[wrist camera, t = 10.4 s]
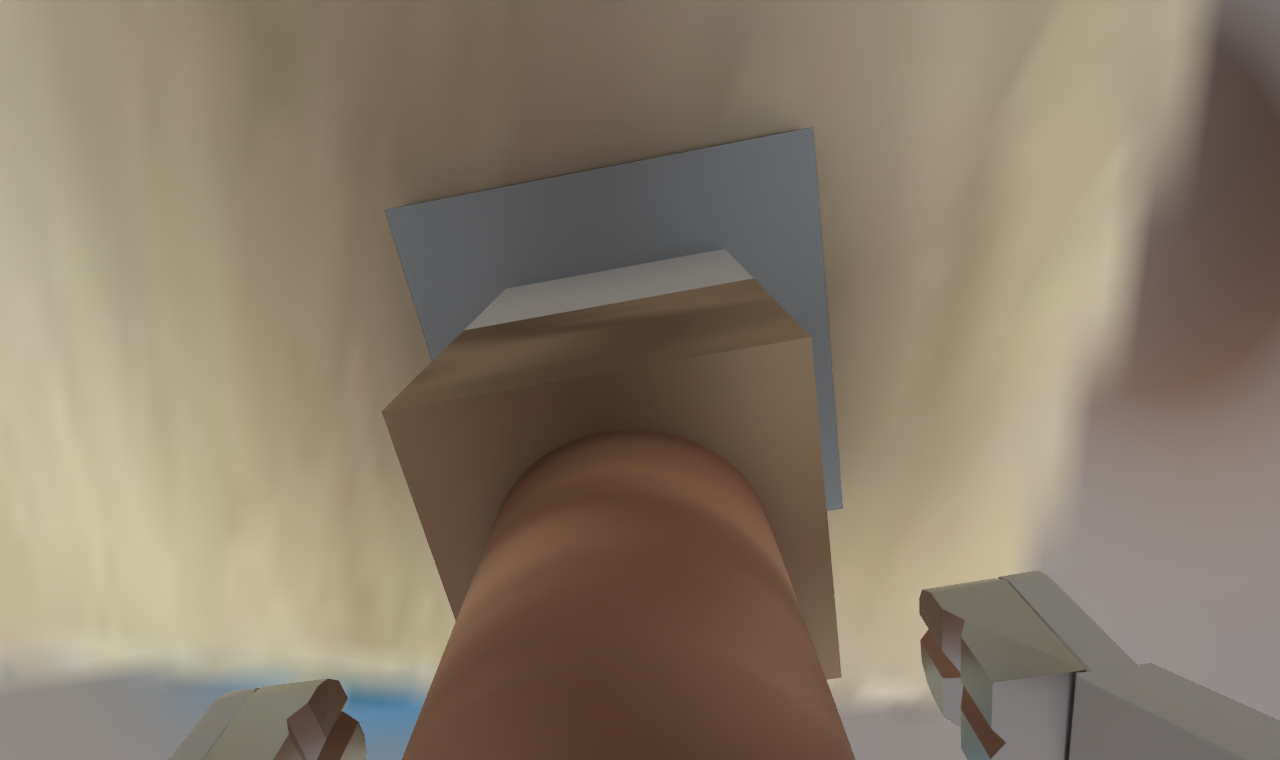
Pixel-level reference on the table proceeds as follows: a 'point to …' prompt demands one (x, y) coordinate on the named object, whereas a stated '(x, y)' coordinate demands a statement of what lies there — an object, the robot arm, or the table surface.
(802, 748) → the brown rounded knob
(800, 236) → the blue-grey board
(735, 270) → the grey tower block
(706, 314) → the tan wooden block
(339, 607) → the table surface
